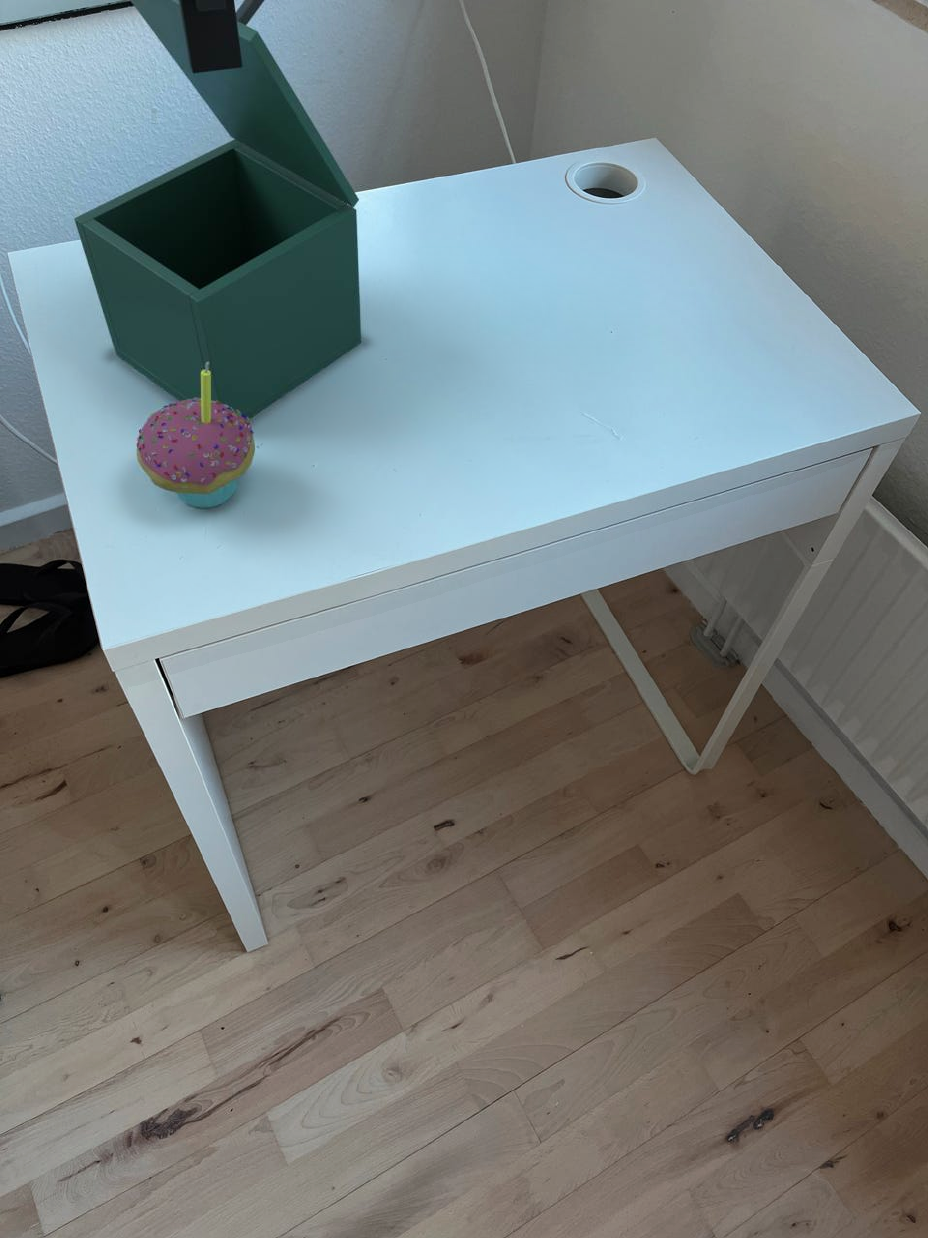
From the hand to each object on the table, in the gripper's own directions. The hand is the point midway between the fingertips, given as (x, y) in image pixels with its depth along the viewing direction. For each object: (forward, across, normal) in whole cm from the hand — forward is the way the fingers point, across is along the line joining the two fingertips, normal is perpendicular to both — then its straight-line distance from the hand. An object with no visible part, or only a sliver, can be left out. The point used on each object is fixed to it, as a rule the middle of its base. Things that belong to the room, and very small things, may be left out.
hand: (188, 11), depth 55 cm
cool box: (+30, +7, -1) cm, 31 cm away
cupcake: (+30, -8, +6) cm, 32 cm away
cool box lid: (+9, +8, -4) cm, 13 cm away
